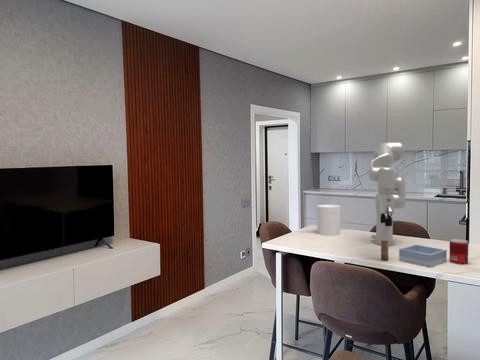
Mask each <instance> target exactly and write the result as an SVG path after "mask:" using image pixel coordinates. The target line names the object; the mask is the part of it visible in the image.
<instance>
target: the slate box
mask: <svg viewBox="0 0 480 360" xmlns="http://www.w3.org/2000/svg"><path fill="white" fill-rule="evenodd" d="M447 255H448V254H447V249H443V248H437V247H431V246H425V245H420V244H413V245H412V244H411V245H409V246H404V247H402V248H399V249H398V261H400V262H405V263H408V264H412V265H417V266H420V267H426V268H433V267H435V266H438V265H440V264H444V263H446V262H447Z"/></svg>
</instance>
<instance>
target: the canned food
mask: <svg viewBox="0 0 480 360" xmlns="http://www.w3.org/2000/svg"><path fill="white" fill-rule="evenodd" d="M449 262H450V263H453V264H457V265H466V264H468V263H469V241H468V240H465V239H459V238H451V239H449Z"/></svg>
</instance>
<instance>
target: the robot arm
mask: <svg viewBox="0 0 480 360" xmlns="http://www.w3.org/2000/svg"><path fill="white" fill-rule="evenodd" d="M404 155H405V146H404V143H402V142H399V141H394V142H388V141H387V142H382V143H380V144H379V145H378V146H377V147H376V148H374V149H373V151H372V158H373V159H372V161H370V163H369V166H368V178H369V180H371V181H373V182H376V184H377V185H376V186H377V190H378V191H377V192H378V193H377V194H376V195H375V197H374V204H375V212H376V216H375V217H376V221H375V223H376V224H375V225H376V229H375V230H376V231H375V232H376V234H372V235H371V239H373V243H374V244H376V245H380V246H381V241H382V240H386V241H388V246H394V245H396V241H394V235H393V233H394V230H393V229H394V220H393V219H394V216H393V215H394V214H395V210H396V209H399V210H400V209H404V208H405V207H406V204H407V203H406V201H407V200H406V199H407V198H406V180H405V179H406V178H405V177H404V176H403V175H398V170H397V169H396V168H395V167H393V166H391V165H392V164H394V161H395V162H396V161H397V162H398V161H402V160H403V158H404Z"/></svg>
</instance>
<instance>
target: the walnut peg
mask: <svg viewBox="0 0 480 360" xmlns="http://www.w3.org/2000/svg"><path fill="white" fill-rule="evenodd" d="M380 260H381V261H382V262H388V261H389V245H388V241H386V240H382V241H381V245H380Z"/></svg>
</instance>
